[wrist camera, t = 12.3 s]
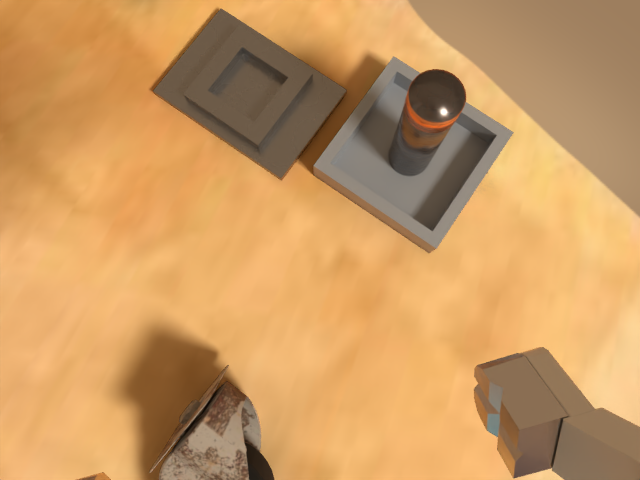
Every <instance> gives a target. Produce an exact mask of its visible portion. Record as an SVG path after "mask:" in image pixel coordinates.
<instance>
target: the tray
mask: <svg viewBox="0 0 640 480" xmlns="http://www.w3.org/2000/svg"><path fill="white" fill-rule="evenodd" d="M419 74H421V73H419V72H418V71H416V70H414V69H413V68H411V67H410V66H408V65H407V64H405V63H403V62H402V61H400V60H399V59H397V58H396V57H393V58H392V59H391V61H390V62H389V64H388V65H387V66H386V68H385V69H384V70H383V72H382V73H381V74H380V76H379V77H378V78H377V80H376V81H375V83H374V84H373V85H372V87H371V88H370V89H369V91H368V92H367V93H366V95H365V96H364V98H363V99H362V100H361V102H360V103H359V104H358V106H357V107H356V108H355V110H354V111H353V113H352V114H351V115H350V117H349V118H348V119H347V121H346V122H345V123H344V125H343V126H342V128H341V129H340V130H339V132H338V133H337V134H336V136H335V137H334V138H333V140H332V141H331V143H330V144H329V145H328V147H327V148H326V149H325V151H324V152H323V153H322V155H321V156H320V157H319V159H318V160H317V162H316V163H315V164H314V166H313V172H314V176H315V177H317V178H318V179H320V180H321V181H323V182H324V183H326V184H327V185H329V186H330V187H332V188H333V189H335V190H336V191H338V192H339V193H341V194H342V195H344V196H345V197H347V198H348V199H350V200H351V201H352V202H354V203H355V204H357V205H358V206H360V207H361V208H363V209H364V210H366V211H367V212H369V213H370V214H372V215H373V216H375V217H376V218H378V219H379V220H381V221H382V222H384V223H385V224H387V225H388V226H390V227H391V228H392V229H394V230H395V231H397V232H398V233H400V234H401V235H403V236H404V237H406V238H407V239H409V240H410V241H412V242H413V243H415V244H416V245H418V246H419V247H421V248H422V249H424V250H425V251H427V252H428V253H430V252H432V251H433V250H435V249H437V247H438V246H439V244H440V243H441V241H442V240H443V238H444V236H445V235H446V233H447V232H448V230H449V229H450V227H451V226H452V224H453V223H454V221H455V220H456V218H457V217H458V215H459V214H460V212H461V211H462V209H463V208H464V206H465V205H466V203H467V202H468V200H469V199H470V197H471V196H472V194H473V193H474V191H475V190H476V188H477V187H478V185H479V184H480V182H481V181H482V179H483V178H484V176H485V175H486V173H487V172H488V170H489V169H490V167H491V166H492V164H493V163H494V161H495V160H496V158H497V157H498V155H499V154H500V152H501V151H502V149H503V148H504V146H505V145H506V143H507V142H508V140H509V139H510V137H511V136H512V134H513V133H514V132H512V131H511V130H509V129H507V128H506V127H504V126H503V125H501V124H500V123H498V122H496V121H495V120H493V119H492V118H490V117H489V116H487V115H485V114H484V113H482V112H481V111H479V110H478V109H476V108H474V107H473V106H471V105H470V104H468V103H466V102H465V106H464V108H463V110H462V112H461V113H460V115H459V116H458V118H457V120H456V121H455V123H454V124H453V125H452V127H451V128H450V130H449V132H448V133H447V135H446V137H445V138H444V140H443V142H442V143H441V145H440V147H439V148H438V150H437V152H436V153H435V155H434V157H433V158H432V160H431V162H430V163H429V165H428V167H427V168H426V169H425V170H424V171H423V172H422V173H420V174H418V175H415V176H404V175H401V174H399V173H398V172H396V171H395V170H394V169H393V168H392V166H391V165H390V162H389V157H388V155H389V150H390V147H391V144H392V141H393V138H394V134H395V131H396V128H397V125H398V122H399V119H400V116H401V113H402V110H403V107H404V102H405V98H406V95H407V92H408V89H409V86H410V84H411V82H412V81H413V80H414V78H415V77H416V76H418V75H419Z"/></svg>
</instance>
